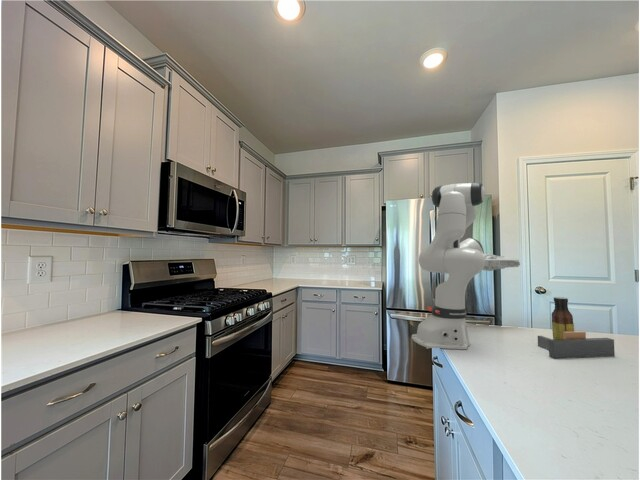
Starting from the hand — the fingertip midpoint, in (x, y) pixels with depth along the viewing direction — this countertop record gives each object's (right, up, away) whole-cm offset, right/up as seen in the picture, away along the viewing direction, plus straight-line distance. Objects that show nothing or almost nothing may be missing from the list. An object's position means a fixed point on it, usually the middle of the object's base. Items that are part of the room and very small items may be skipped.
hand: (509, 263), depth 122 cm
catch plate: (+4, -30, -27) cm, 41 cm away
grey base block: (+4, -31, -23) cm, 39 cm away
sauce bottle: (+4, -31, -23) cm, 39 cm away
